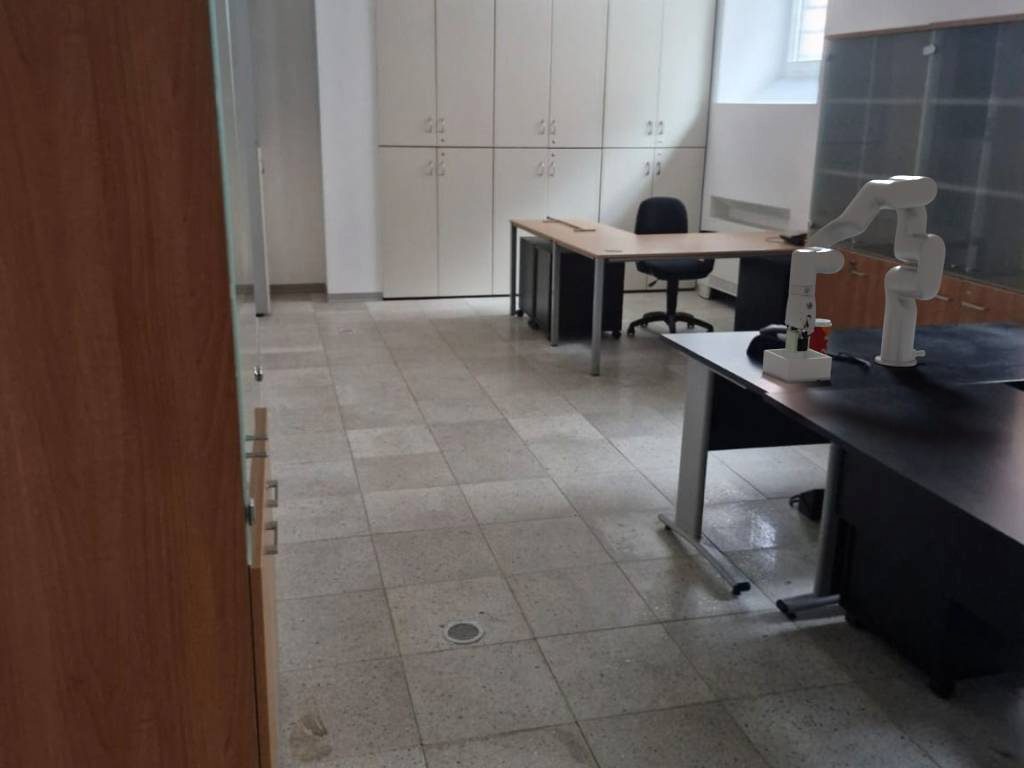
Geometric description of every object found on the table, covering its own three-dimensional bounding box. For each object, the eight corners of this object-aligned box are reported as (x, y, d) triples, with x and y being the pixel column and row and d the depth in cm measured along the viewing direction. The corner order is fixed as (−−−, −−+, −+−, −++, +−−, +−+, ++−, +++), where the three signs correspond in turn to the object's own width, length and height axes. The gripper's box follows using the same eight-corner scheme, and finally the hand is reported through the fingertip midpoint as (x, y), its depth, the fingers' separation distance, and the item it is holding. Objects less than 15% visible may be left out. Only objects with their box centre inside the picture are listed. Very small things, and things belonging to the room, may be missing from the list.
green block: (799, 348, 280) (801, 329, 279) (808, 351, 275) (810, 332, 274) (785, 349, 279) (786, 330, 277) (793, 352, 274) (795, 333, 273)
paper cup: (830, 365, 292) (833, 323, 288) (805, 364, 293) (808, 322, 290) (827, 359, 299) (830, 318, 295) (803, 359, 301) (806, 317, 297)
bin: (803, 368, 288) (805, 347, 286) (830, 379, 274) (831, 357, 272) (762, 371, 285) (764, 350, 283) (786, 383, 271) (788, 360, 269)
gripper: (828, 294, 265) (823, 354, 270) (797, 286, 281) (793, 342, 286) (806, 295, 264) (801, 355, 268) (776, 286, 280) (771, 344, 284)
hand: (797, 348), depth 277 cm, fingers closed on green block, 5 cm apart
